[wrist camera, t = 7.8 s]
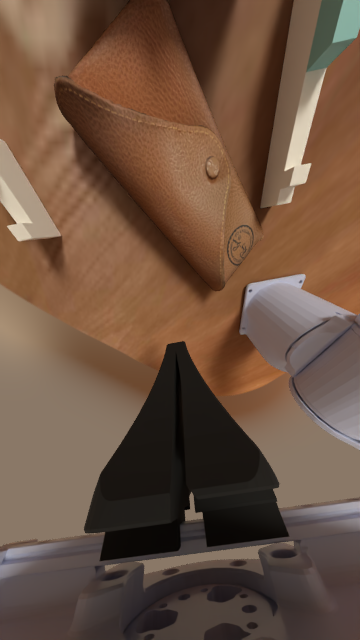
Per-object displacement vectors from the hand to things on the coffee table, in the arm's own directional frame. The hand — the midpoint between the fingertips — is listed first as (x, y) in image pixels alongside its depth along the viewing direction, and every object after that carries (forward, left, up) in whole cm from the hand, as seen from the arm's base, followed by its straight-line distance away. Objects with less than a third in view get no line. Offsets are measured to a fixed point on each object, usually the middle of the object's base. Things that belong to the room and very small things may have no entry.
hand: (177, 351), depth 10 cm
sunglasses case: (+10, -4, -11) cm, 15 cm away
